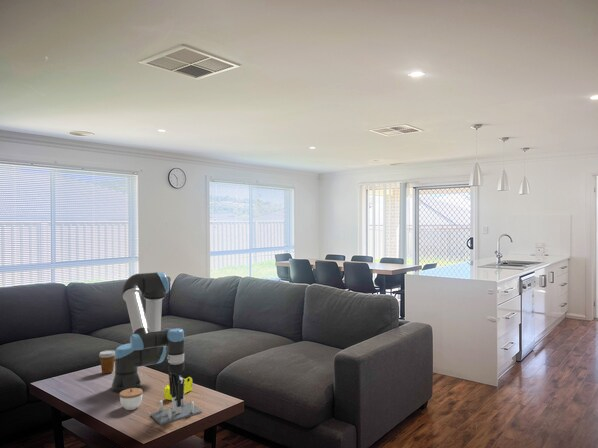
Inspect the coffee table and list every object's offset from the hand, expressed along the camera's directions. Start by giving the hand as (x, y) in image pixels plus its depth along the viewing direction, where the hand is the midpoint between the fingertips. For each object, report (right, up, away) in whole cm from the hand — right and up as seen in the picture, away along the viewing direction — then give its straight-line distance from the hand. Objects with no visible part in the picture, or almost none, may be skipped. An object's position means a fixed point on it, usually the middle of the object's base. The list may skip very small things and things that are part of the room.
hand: (176, 411), depth 213 cm
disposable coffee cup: (-59, -2, +62) cm, 86 cm away
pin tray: (0, -2, 0) cm, 2 cm away
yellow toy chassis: (-5, -2, +24) cm, 25 cm away
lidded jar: (-25, -2, +9) cm, 27 cm away
